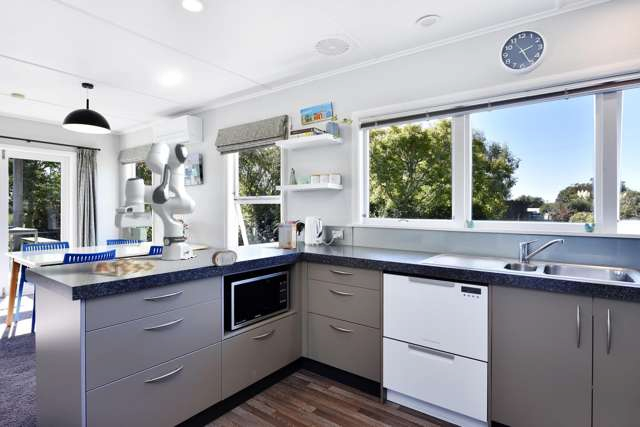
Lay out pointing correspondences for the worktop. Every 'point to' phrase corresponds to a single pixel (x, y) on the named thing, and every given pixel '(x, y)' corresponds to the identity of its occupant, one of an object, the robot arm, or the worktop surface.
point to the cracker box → (287, 235)
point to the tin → (224, 258)
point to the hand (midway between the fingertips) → (134, 236)
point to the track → (122, 267)
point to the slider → (135, 234)
